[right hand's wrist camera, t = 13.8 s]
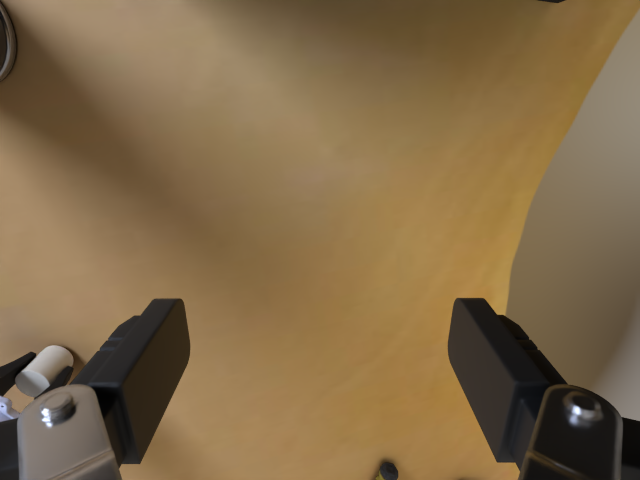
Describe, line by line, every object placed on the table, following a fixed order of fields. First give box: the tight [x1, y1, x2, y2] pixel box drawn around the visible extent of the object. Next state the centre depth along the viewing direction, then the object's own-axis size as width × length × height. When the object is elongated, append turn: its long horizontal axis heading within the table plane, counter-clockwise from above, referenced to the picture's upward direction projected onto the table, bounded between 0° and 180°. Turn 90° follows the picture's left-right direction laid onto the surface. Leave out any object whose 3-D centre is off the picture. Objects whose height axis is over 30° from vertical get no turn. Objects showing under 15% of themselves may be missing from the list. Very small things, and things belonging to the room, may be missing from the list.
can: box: [15, 345, 74, 397], centre depth 45 cm, size 4×4×4 cm
